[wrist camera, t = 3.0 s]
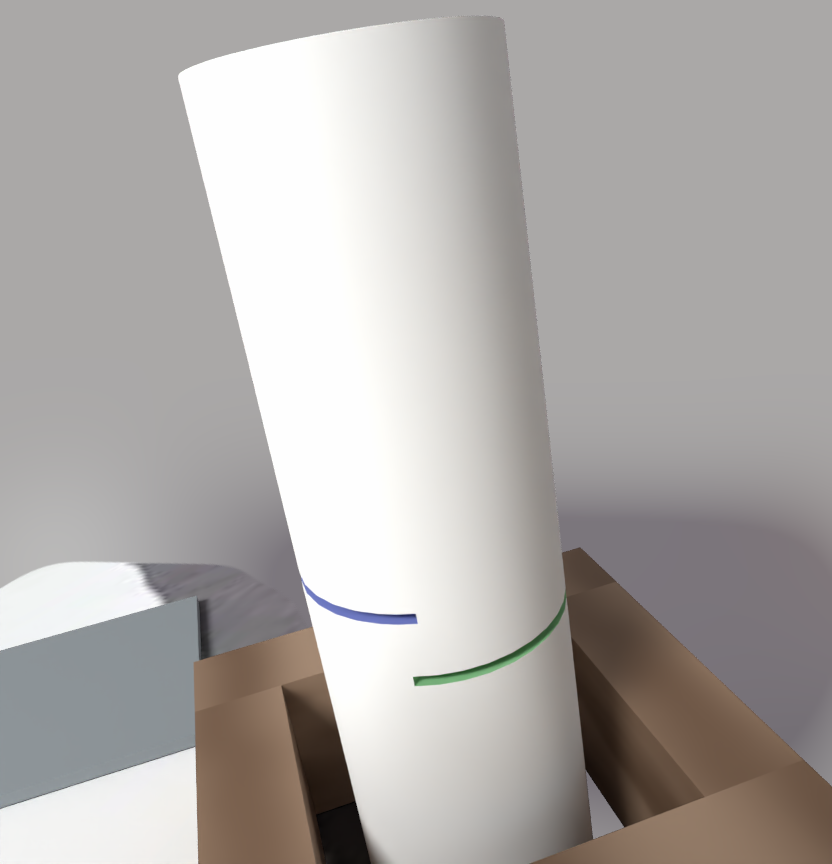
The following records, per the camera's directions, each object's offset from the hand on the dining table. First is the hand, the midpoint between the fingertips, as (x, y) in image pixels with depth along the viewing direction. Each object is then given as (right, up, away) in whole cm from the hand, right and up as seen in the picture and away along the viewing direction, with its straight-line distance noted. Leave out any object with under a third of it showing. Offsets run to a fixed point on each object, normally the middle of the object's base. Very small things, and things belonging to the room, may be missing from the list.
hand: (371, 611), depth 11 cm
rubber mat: (-16, -11, +28) cm, 34 cm away
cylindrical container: (+3, -12, +15) cm, 20 cm away
